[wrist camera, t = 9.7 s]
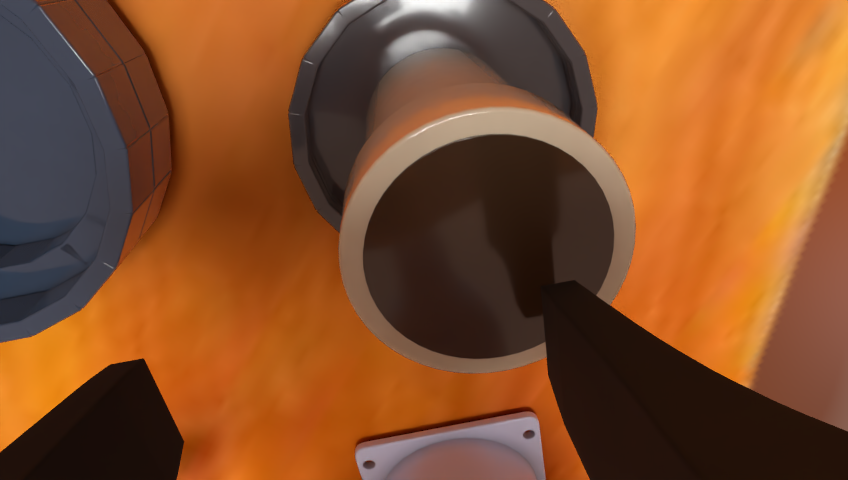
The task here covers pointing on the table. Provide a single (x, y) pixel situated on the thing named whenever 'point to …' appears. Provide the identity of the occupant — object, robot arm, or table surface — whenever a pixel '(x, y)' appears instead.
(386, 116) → the clay pot
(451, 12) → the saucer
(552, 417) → the table surface
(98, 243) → the planter
